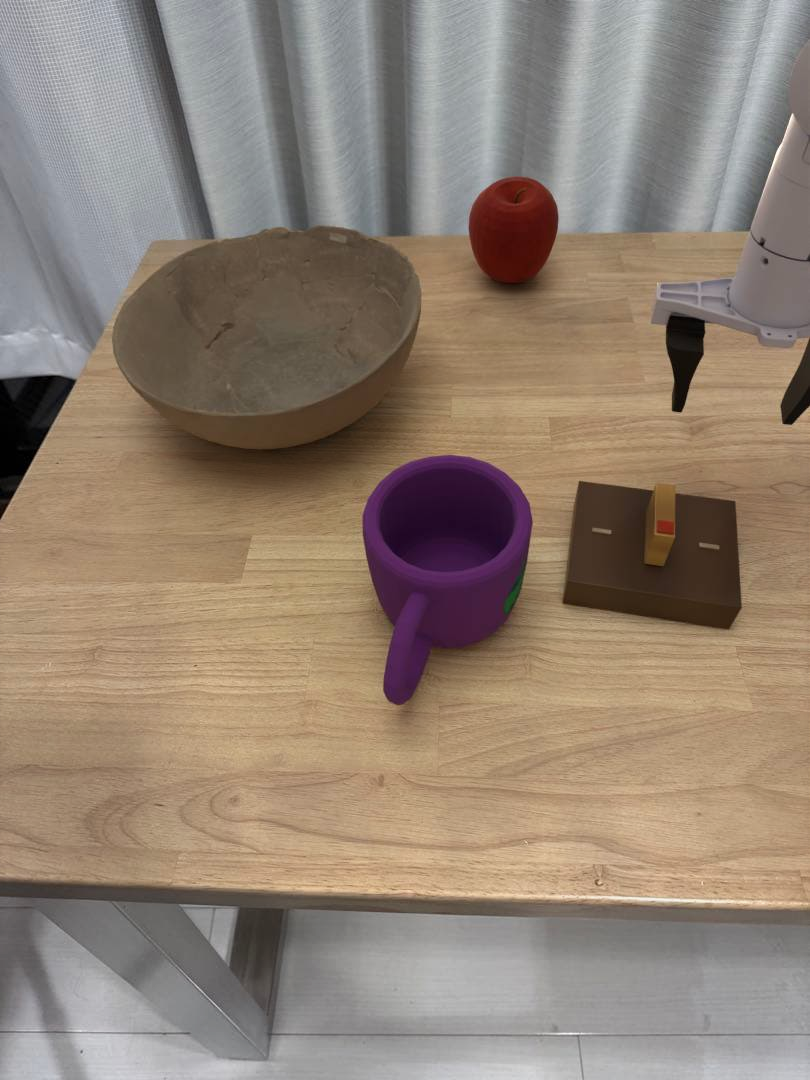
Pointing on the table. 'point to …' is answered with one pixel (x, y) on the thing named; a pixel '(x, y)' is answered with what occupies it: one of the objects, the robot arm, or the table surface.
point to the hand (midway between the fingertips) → (730, 409)
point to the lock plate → (649, 590)
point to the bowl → (271, 334)
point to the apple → (513, 229)
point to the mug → (443, 558)
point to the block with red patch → (660, 524)
